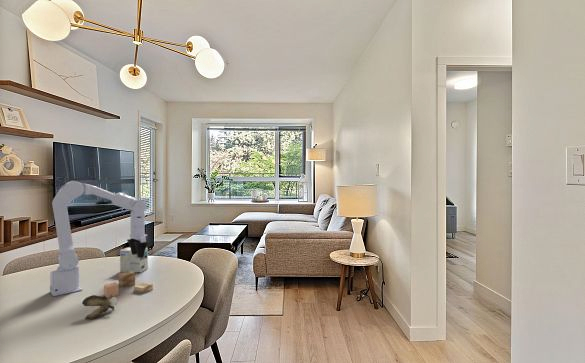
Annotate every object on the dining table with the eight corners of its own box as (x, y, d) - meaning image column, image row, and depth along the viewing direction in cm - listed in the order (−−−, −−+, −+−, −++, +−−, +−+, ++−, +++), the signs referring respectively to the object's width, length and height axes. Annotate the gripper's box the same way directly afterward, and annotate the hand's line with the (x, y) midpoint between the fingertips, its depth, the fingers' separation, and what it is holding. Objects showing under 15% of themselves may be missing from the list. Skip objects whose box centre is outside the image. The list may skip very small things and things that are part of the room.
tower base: (122, 288, 128) (122, 282, 128) (118, 285, 132) (118, 279, 132) (135, 285, 132) (135, 279, 132) (131, 282, 135) (131, 276, 135)
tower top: (122, 282, 128) (122, 276, 128) (118, 279, 132) (118, 273, 132) (135, 279, 132) (135, 273, 132) (131, 276, 135) (131, 270, 135)
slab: (142, 294, 122) (142, 288, 122) (133, 292, 124) (133, 286, 124) (152, 290, 126) (152, 284, 126) (144, 288, 128) (144, 282, 128)
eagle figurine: (106, 302, 110) (78, 306, 102) (115, 287, 109) (87, 290, 101) (113, 319, 106) (85, 325, 98) (123, 303, 105) (94, 308, 97)
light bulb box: (148, 268, 154) (148, 247, 154) (140, 273, 148) (140, 250, 147) (128, 268, 155) (128, 246, 155) (119, 272, 149) (119, 249, 149)
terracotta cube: (106, 297, 118) (106, 287, 117) (104, 294, 120) (104, 284, 120) (118, 295, 120) (118, 284, 120) (115, 292, 123) (115, 282, 123)
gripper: (152, 226, 138) (152, 257, 139) (141, 223, 149) (141, 251, 149) (136, 228, 133) (136, 260, 134) (125, 224, 144) (125, 254, 144)
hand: (137, 255), depth 141 cm, fingers open, 7 cm apart
